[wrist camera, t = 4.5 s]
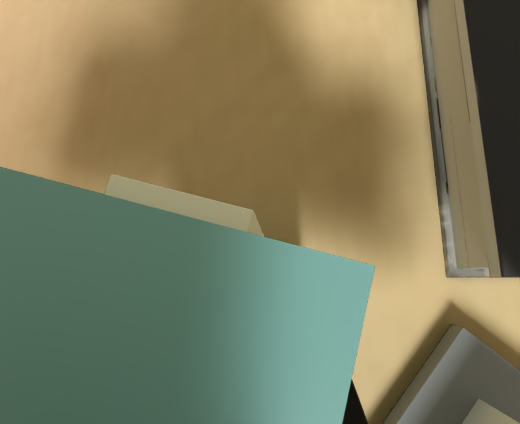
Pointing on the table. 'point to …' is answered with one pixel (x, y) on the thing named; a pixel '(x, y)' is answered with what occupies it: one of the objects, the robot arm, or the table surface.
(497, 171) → the book
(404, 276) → the table surface
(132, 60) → the table surface
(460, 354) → the square socket base
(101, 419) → the teal rectangular block
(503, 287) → the table surface
